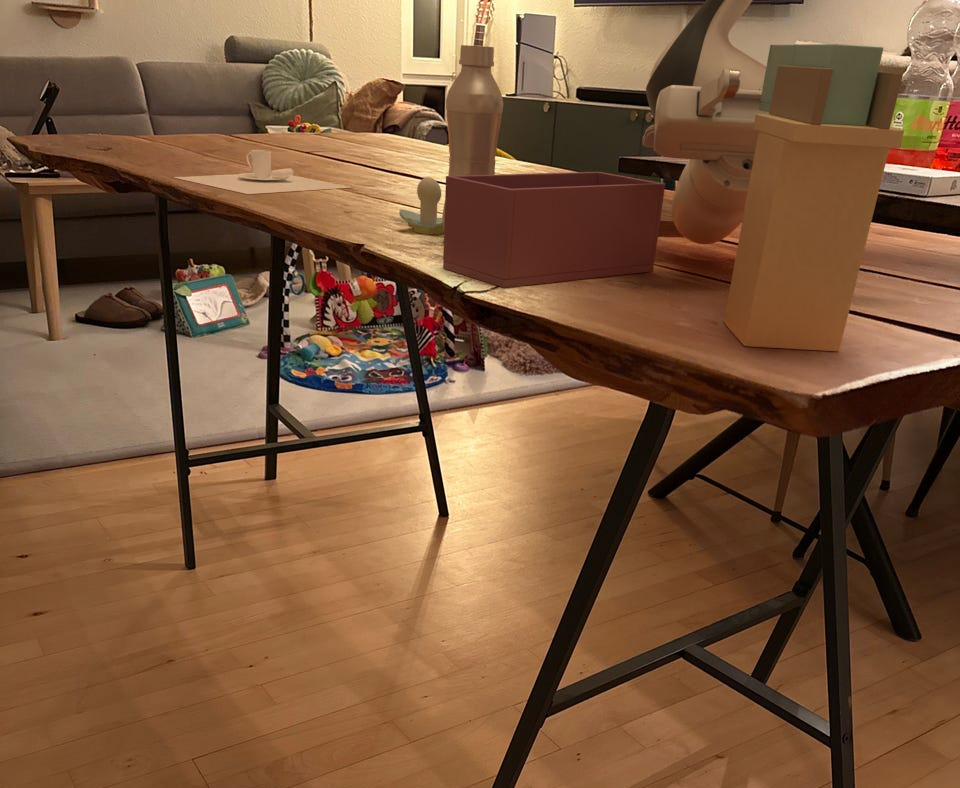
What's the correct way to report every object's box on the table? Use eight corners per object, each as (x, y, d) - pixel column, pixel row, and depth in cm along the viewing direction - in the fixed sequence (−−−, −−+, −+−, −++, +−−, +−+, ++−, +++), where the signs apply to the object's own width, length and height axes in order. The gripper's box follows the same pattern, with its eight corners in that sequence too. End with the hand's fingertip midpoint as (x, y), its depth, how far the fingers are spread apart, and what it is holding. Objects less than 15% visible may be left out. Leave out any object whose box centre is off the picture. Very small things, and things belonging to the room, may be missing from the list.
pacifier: (410, 226, 123) (394, 232, 118) (411, 172, 120) (395, 175, 115) (465, 232, 122) (452, 237, 117) (467, 177, 119) (454, 181, 114)
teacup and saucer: (301, 182, 154) (300, 153, 151) (260, 184, 149) (258, 155, 146) (268, 175, 159) (267, 147, 156) (227, 177, 153) (225, 149, 151)
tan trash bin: (718, 317, 88) (764, 64, 78) (805, 322, 89) (862, 70, 78) (749, 352, 78) (807, 67, 68) (847, 358, 78) (919, 74, 68)
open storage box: (589, 254, 112) (598, 171, 108) (653, 271, 106) (665, 183, 101) (442, 268, 101) (445, 175, 96) (503, 288, 94) (510, 189, 90)
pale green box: (758, 109, 87) (770, 44, 84) (798, 112, 87) (811, 47, 84) (817, 123, 71) (834, 44, 69) (865, 126, 71) (884, 47, 69)
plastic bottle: (460, 250, 110) (468, 45, 100) (431, 239, 115) (436, 43, 105) (506, 247, 113) (519, 48, 103) (476, 237, 118) (486, 46, 108)
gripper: (640, 117, 99) (670, 37, 85) (837, 129, 99) (899, 51, 86) (637, 179, 99) (666, 109, 85) (833, 191, 100) (894, 123, 86)
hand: (784, 80), depth 85 cm, fingers open, 8 cm apart
